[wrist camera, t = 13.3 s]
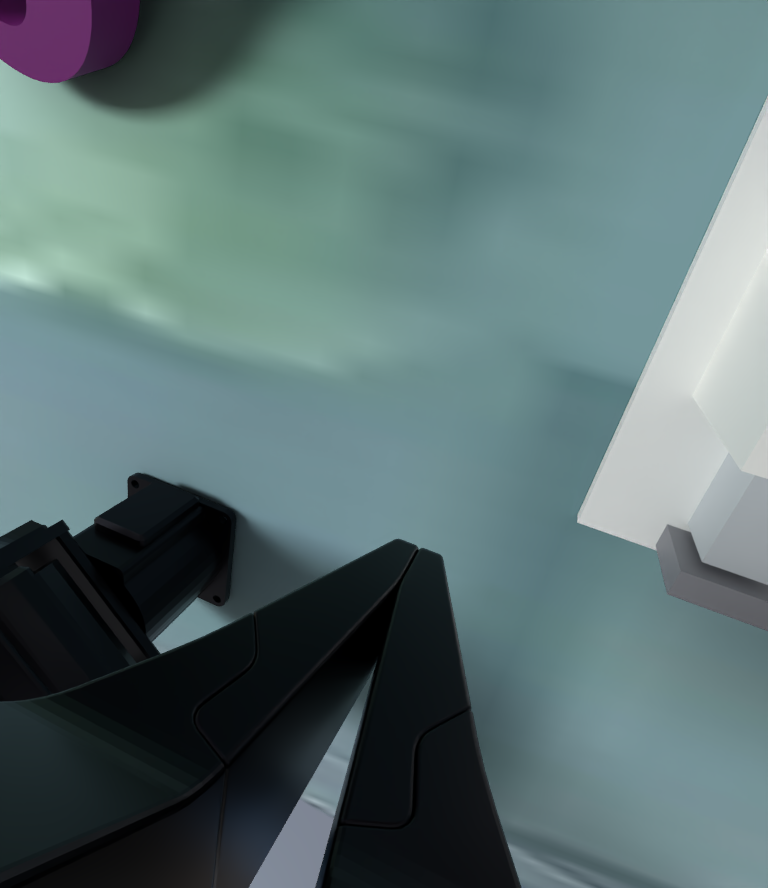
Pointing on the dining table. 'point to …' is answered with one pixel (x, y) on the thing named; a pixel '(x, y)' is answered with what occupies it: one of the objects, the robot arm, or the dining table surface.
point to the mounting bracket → (65, 36)
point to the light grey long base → (696, 426)
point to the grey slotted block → (742, 380)
